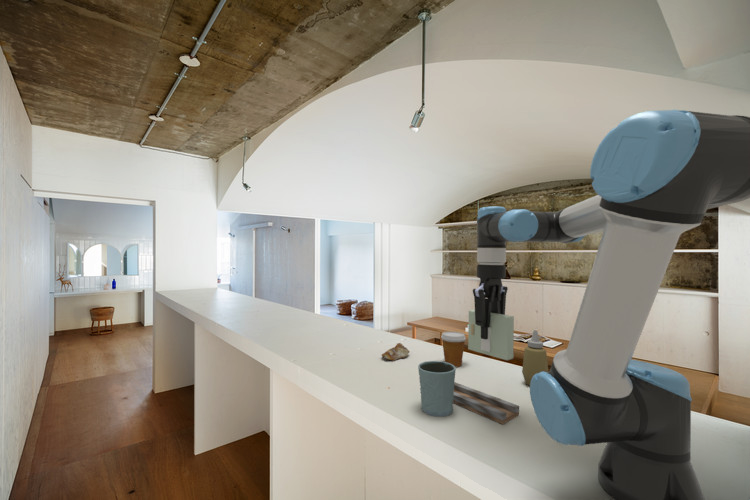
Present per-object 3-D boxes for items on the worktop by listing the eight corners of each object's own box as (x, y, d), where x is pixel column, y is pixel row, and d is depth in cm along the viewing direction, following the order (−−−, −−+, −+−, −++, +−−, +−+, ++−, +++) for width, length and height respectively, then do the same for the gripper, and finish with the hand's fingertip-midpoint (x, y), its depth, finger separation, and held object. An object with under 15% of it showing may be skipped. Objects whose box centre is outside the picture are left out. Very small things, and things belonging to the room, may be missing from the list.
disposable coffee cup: (466, 369, 129) (466, 337, 129) (440, 367, 130) (440, 336, 131) (465, 361, 138) (465, 331, 138) (440, 360, 140) (441, 330, 140)
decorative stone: (413, 343, 147) (396, 356, 135) (413, 353, 148) (396, 366, 135) (394, 340, 152) (376, 351, 140) (394, 349, 153) (376, 362, 140)
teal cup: (459, 407, 97) (460, 364, 97) (448, 421, 88) (448, 375, 88) (426, 399, 102) (426, 358, 102) (412, 412, 93) (412, 368, 93)
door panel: (513, 358, 90) (513, 316, 90) (506, 360, 88) (507, 317, 88) (474, 347, 100) (475, 309, 100) (467, 349, 98) (468, 310, 97)
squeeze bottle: (520, 386, 112) (521, 331, 112) (523, 378, 119) (523, 327, 120) (548, 391, 108) (548, 334, 109) (549, 383, 116) (549, 329, 116)
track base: (519, 415, 92) (519, 405, 92) (502, 424, 87) (502, 414, 87) (448, 387, 111) (448, 379, 111) (431, 393, 106) (431, 385, 106)
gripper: (495, 262, 102) (494, 341, 102) (461, 263, 92) (460, 351, 92) (519, 263, 96) (518, 347, 96) (486, 265, 86) (484, 358, 86)
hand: (489, 349), depth 94 cm, fingers closed on door panel, 3 cm apart
